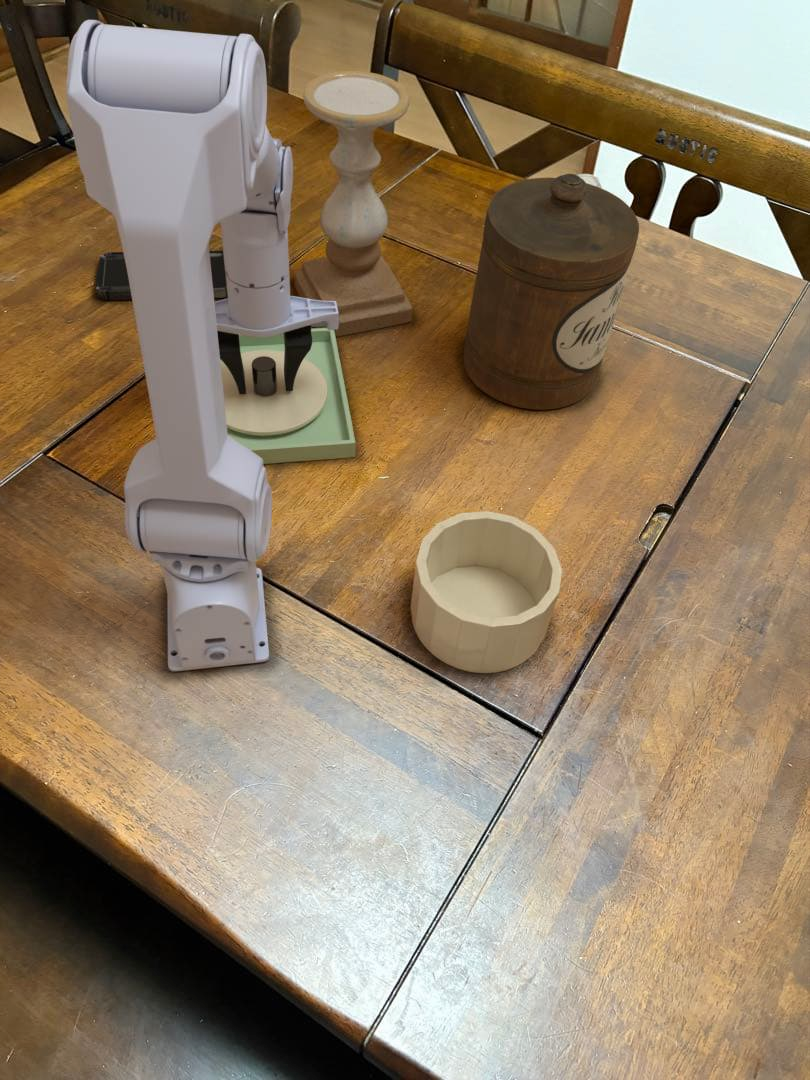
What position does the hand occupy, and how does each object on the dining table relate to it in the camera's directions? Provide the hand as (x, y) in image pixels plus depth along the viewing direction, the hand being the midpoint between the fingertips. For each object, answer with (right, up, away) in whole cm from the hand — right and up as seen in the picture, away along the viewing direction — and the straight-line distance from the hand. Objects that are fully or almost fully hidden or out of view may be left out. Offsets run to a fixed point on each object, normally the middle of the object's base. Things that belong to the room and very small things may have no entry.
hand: (265, 386), depth 92 cm
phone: (-14, +15, +14) cm, 24 cm away
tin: (+20, -22, -14) cm, 33 cm away
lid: (0, -1, +1) cm, 1 cm away
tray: (0, -1, +2) cm, 2 cm away
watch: (+35, +19, +21) cm, 45 cm away
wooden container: (+28, +3, +8) cm, 29 cm away
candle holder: (+8, +12, +13) cm, 20 cm away
